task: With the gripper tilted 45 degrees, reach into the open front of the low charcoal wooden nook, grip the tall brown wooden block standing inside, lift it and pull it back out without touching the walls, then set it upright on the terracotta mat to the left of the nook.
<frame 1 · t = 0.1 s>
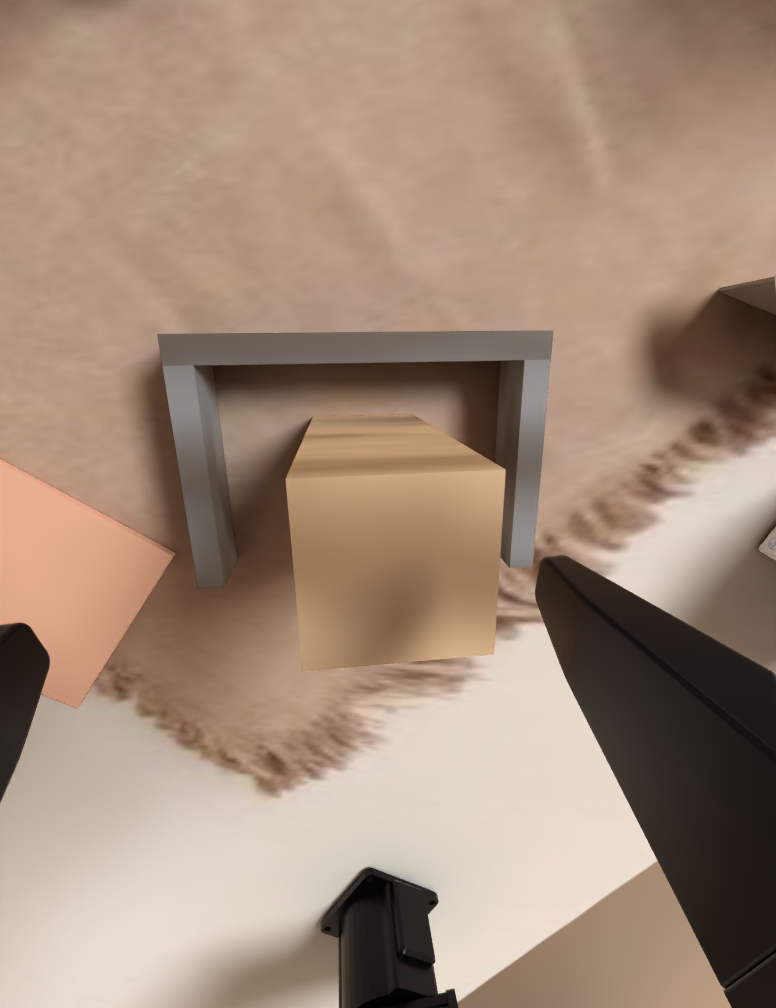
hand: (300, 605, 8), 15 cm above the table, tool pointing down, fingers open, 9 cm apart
platform: (760, 332, 24), on the table, touching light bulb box
block: (375, 499, 17), in the nook
nook: (364, 464, 23), on the table
mat: (23, 582, 23), on the table
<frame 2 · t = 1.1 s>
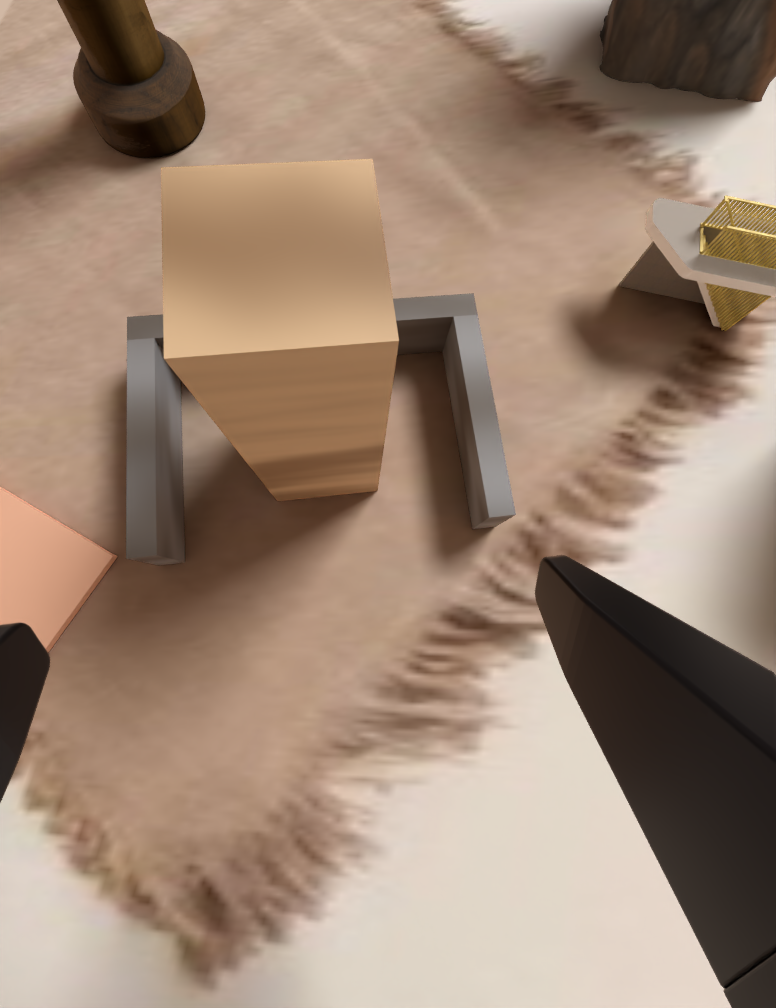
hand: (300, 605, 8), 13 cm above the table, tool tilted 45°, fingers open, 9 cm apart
owl: (679, 51, 31), on the table
mortar and pestle: (153, 119, 27), on the table
platform: (676, 317, 27), on the table
block: (308, 388, 16), in the nook
nook: (323, 448, 23), on the table
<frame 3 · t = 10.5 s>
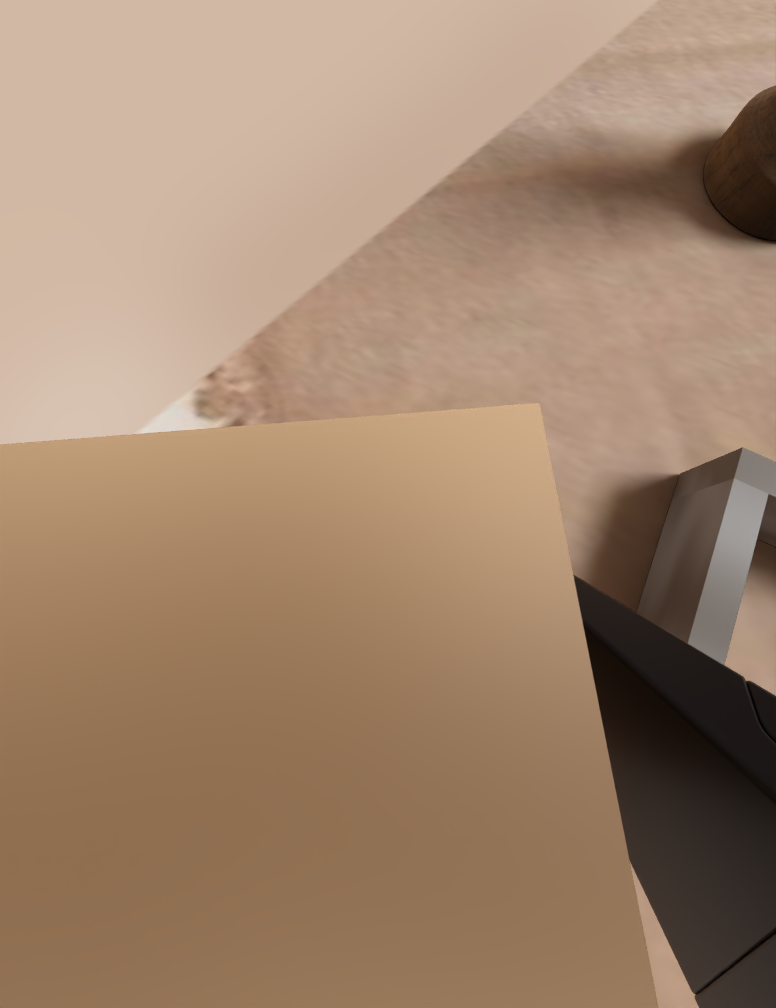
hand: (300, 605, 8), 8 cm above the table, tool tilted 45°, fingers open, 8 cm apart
mortar and pestle: (763, 190, 22), on the table
block: (313, 676, 9), on the mat
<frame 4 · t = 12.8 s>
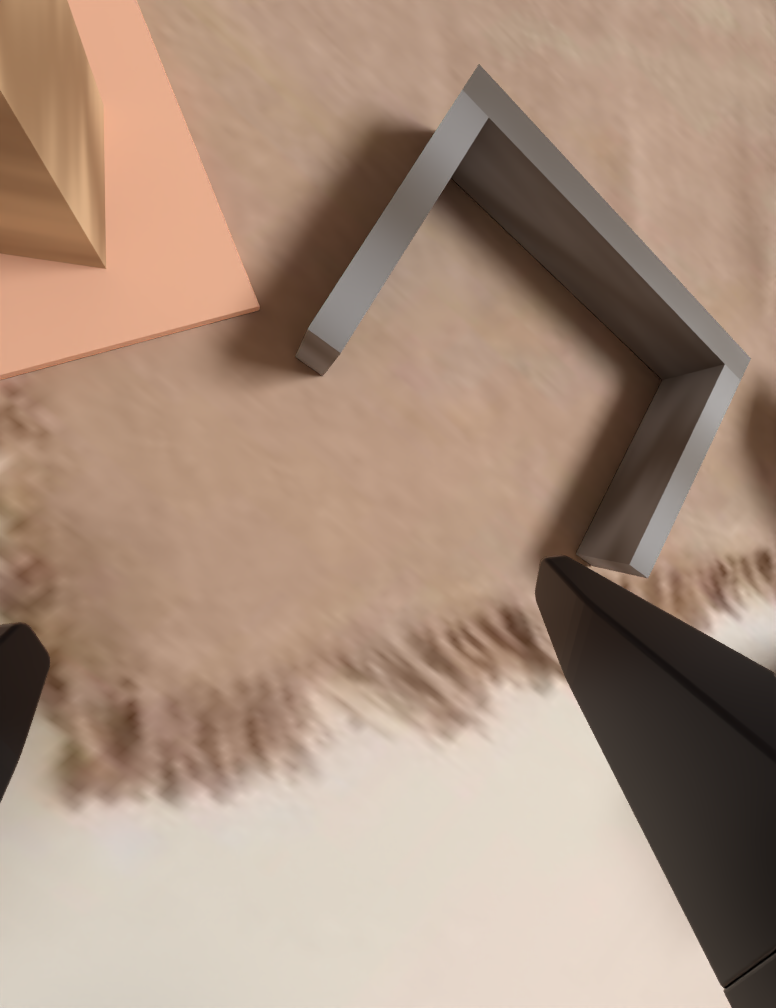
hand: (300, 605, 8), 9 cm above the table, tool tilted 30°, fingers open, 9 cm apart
nook: (516, 378, 19), on the table
mat: (11, 177, 13), on the table
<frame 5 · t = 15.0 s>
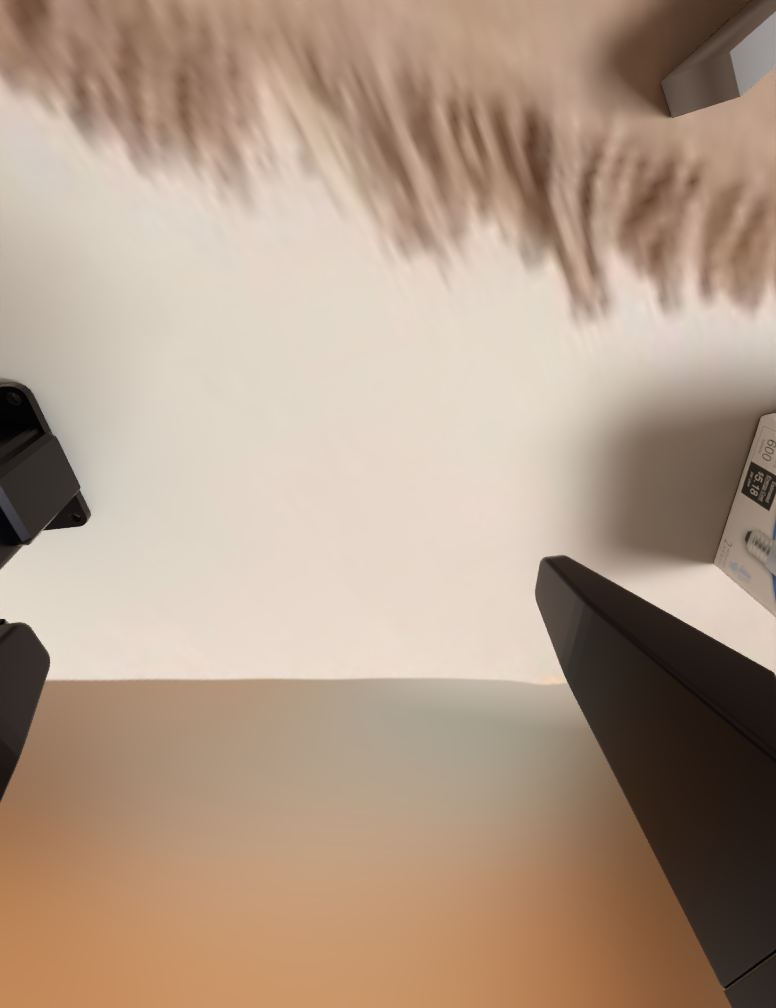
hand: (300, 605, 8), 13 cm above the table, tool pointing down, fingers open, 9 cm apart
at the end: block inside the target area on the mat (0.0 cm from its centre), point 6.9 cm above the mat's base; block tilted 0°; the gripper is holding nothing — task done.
